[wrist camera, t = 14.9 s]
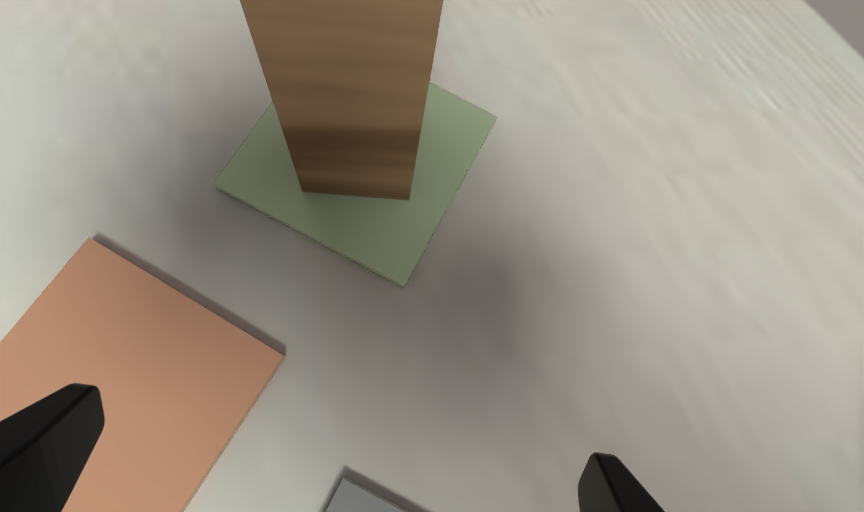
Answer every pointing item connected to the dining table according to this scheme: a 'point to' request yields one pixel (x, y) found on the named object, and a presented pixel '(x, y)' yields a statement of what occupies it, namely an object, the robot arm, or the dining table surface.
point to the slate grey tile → (359, 500)
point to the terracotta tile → (136, 378)
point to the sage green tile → (355, 215)
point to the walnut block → (348, 87)
